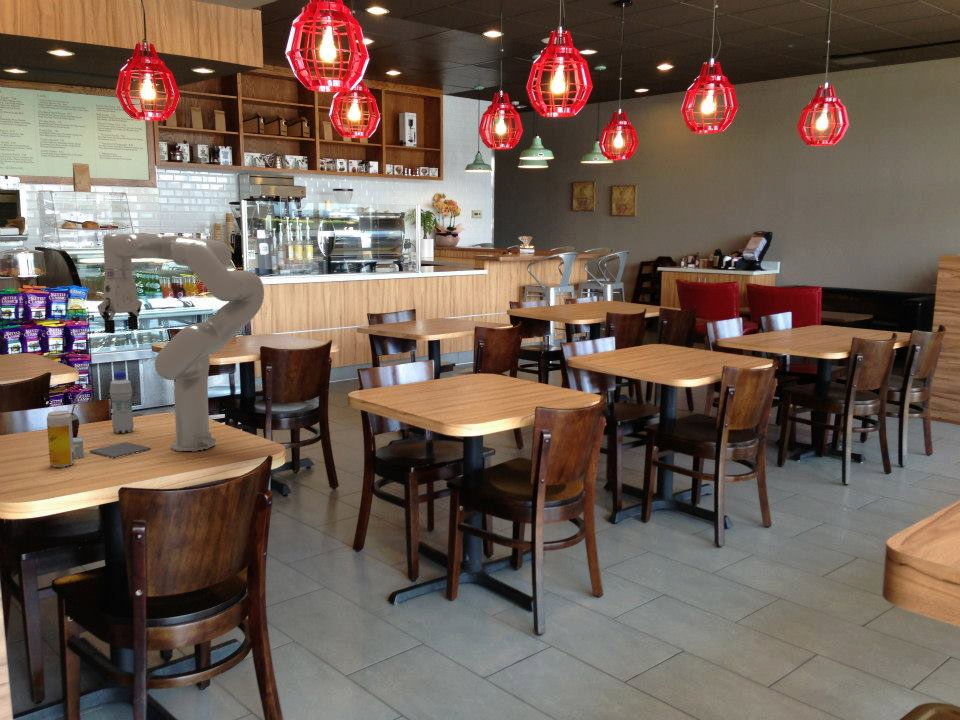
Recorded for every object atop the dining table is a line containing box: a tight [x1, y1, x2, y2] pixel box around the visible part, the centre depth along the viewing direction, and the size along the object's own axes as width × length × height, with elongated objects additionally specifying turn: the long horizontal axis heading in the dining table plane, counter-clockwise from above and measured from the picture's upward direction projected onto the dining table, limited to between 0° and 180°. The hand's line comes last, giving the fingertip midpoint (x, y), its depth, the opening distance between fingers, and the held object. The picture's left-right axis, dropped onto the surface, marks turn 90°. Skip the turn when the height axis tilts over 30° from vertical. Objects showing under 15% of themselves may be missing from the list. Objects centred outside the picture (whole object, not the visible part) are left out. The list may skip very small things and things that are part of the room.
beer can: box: [46, 410, 75, 468], centre depth 224 cm, size 6×6×15 cm
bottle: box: [109, 371, 134, 434], centre depth 262 cm, size 7×7×20 cm
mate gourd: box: [70, 390, 84, 438], centre depth 253 cm, size 8×8×15 cm
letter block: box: [73, 436, 85, 459], centre depth 234 cm, size 5×5×5 cm
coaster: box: [89, 441, 152, 459], centre depth 240 cm, size 12×12×1 cm
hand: (121, 331), depth 246 cm, fingers open, 9 cm apart
